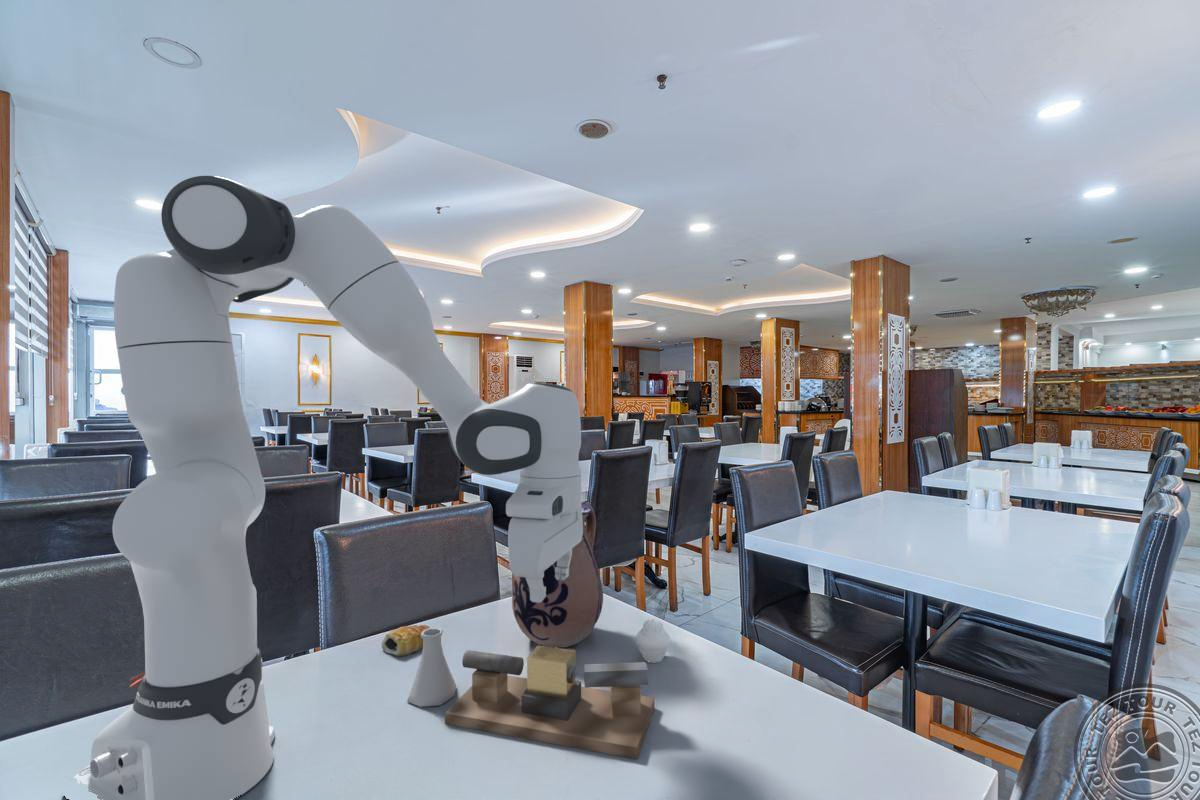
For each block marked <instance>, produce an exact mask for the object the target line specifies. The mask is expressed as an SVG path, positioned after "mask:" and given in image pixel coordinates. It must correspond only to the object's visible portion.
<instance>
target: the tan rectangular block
mask: <svg viewBox="0 0 1200 800" xmlns="http://www.w3.org/2000/svg"><path fill="white" fill-rule="evenodd" d="M576 655H577V654H576V650H575V649H568V648H567V649H566V648H553V647H545V646H542V645H536V647H535V648H534V649H533V651H531V653H530V654H529V655H528V656H527V657H526V678H527V692H528V693H534V694H541V695H547V696H553V697H559V698H566V699H567V697H568V696H569V694H570V692H571V691H572V689H573V688H574V686H575V685H576V680H577V668H576V665H577V664H576V661H577V660H576V657H577V656H576Z"/></svg>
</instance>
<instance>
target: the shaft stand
mask: <svg viewBox="0 0 1200 800" xmlns="http://www.w3.org/2000/svg"><path fill="white" fill-rule="evenodd" d="M646 662H647V661H640V662H637V661H636V662H617V663H615V662H613V663H588V664H586V663H585V664H584V665H583V669H584V671H583V679H584V680H583V681H584V682H583V683H584V686H582V681H581V680H577V679H576V685H575V686H574V688H573V689H572V691H571V692H570V694H569V696H568V697H567V699H566V698H559V697H553V696H547V695H541V694H534V693H528V692H527V677H522V676H521V675H522V673H523V670H524V664H525V661H524V658H523V657H519V656H513V655H505V654H499V653H490V652H483V651H477V650H472V649H471V650H470V649H468V650H465V652H464V654H463V656H462V662H461V663H462V667H463V668H467V669H474V671H473V673H472V675H471V679H472V680H471V681H472V682H471V683H472V684H471V686H470V687H469V688H468V689H467V690H466V691H465V692H464V693H463V695H461V696H460V697H459V698H458V699H457V700H456V702H454V703H453V704H452V705H451V706H450V708H448V709H447V710H446V711H445V712H444V724H445V725H451V726H455V727H462V728H467V729H472V730H478V731H483V732H489V733H493V734H500V735H505V736H510V737H511V736H512V737H517V738H522V739H526V740H531V741H536V742H537V741H538V742H542V743H548V744H553V745H559V746H565V747H569V748H575V749H580V750H586V751H592V752H597V753H602V754H607V755H612V756H618V757H625V758H629V759H635V760H637V759H638V758H639V754H640V751H641V749H642V746H643V743H644V741H645V737H646V734H647V731H648V729H649V725H650V722H651V719H652V716H653V713H654V710H655V697H651V696H647V695H646V696H645V695H642V692H641V689H642V688H641V686H648V685H649V669H648V665H647V663H646ZM513 675H514V676H513ZM604 687H606V688H607V687H608V688H610V689H609V690H607V689H598V688H604Z"/></svg>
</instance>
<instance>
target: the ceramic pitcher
mask: <svg viewBox="0 0 1200 800" xmlns="http://www.w3.org/2000/svg"><path fill="white" fill-rule="evenodd" d="M581 505H582V519H583V535H582V540H581V542H580V543H578V544H577V545H576V546H575V547H573V548H572V556H571V561H570V565H569V576H568V577H567V578H566V579H565V580H557V579H556V578H555V568H556V567H557V561H556V562H555V563H554V564H552V565H551V566H550V567H549V568H547V569H546V570H545V571H544V577H543V578H542V580H543V586H545V587H546V597H545V599H544V600H543V601H542V602H540V603H537V602H532V601H531V600H530V589H529V586H528V583H527V581H526V577H518V576H514V579H513V586H512V592H511V593H512V594H511V607H512V612H513V616H514V619H515V621H516V623H517V625H518V627H519V629H520V630H521V632H522V633H523V634H524V635H525V637H526V638H528V639H530V640H531V641H532V642H533V643H535V644H537V645H538V646H545V647H553V648H560V649H563V648H567V647H571V646H574V645H578V644H579V643H580V642H582V641H583V640H584V639H585V638H586V637H588V636H589V634H591V632H592V631H593V630H594V628H595V626H596V624H597V622H598V620H599V618H600V616H601V614H602V610H603V603H604V589H603V585H602V580H601V577H600V572H599V569H598V565H597V562H596V559H595V556H594V553H593V550H594V545H595V539H596V531H597V517H596V513H595V510H594V508H593V506H592V504H590V503H589V502H588V501H581Z"/></svg>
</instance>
